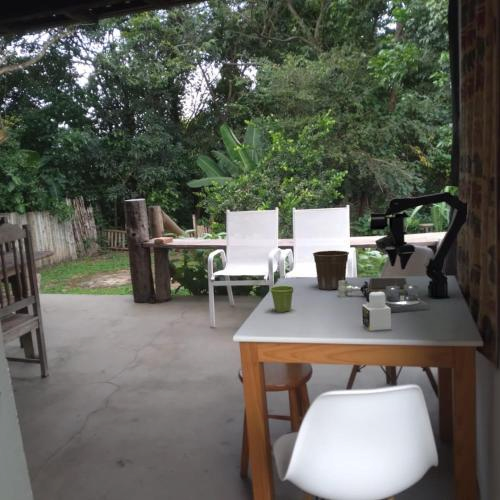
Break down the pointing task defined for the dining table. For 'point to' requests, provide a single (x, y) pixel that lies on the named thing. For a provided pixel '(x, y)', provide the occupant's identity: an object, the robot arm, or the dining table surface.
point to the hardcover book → (386, 283)
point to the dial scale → (407, 305)
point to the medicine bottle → (376, 311)
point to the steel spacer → (392, 293)
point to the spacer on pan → (411, 292)
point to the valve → (350, 288)
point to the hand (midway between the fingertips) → (397, 267)
